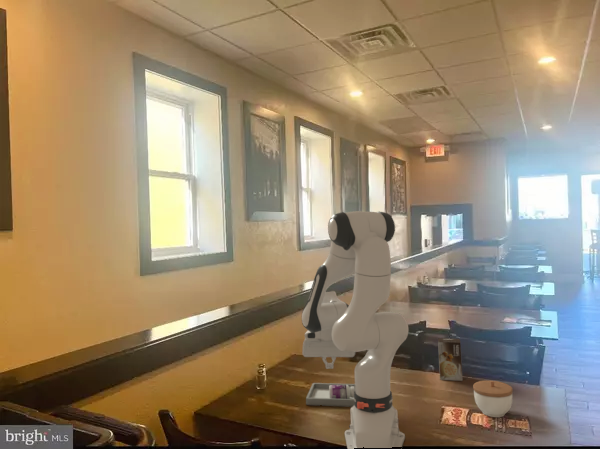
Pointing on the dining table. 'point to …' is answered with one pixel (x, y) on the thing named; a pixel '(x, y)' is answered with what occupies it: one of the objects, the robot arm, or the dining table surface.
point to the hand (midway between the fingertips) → (329, 368)
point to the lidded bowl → (493, 397)
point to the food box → (450, 359)
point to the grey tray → (326, 396)
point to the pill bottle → (341, 391)
